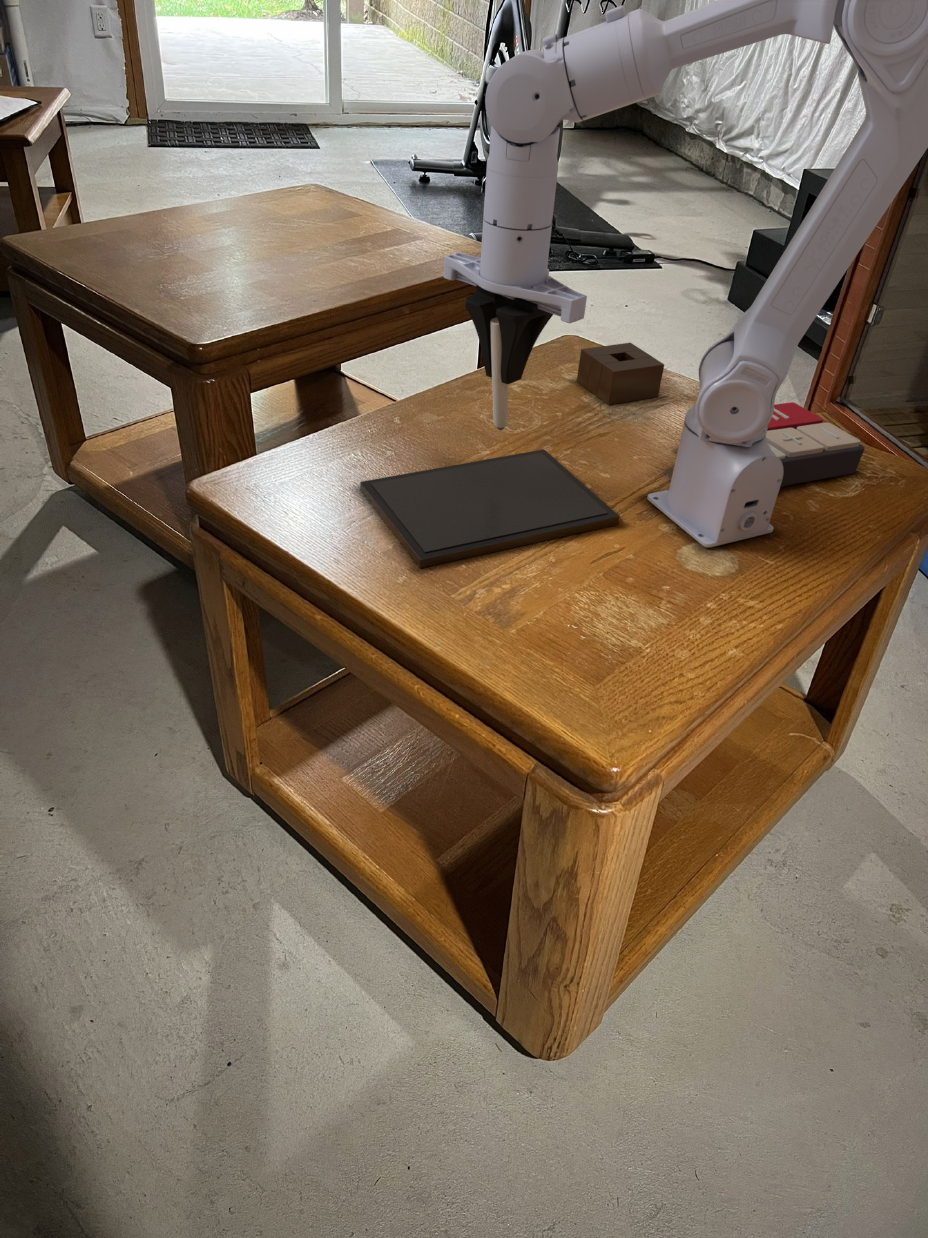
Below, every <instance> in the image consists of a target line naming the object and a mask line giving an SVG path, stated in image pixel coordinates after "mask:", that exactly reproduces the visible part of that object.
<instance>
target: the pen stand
mask: <svg viewBox="0 0 928 1238" xmlns="http://www.w3.org/2000/svg"><path fill="white" fill-rule="evenodd" d="M664 369H665V364H664V363H663V362H662V361H660V360H659V359H657V358H656V357H654V356H653V355H651V354H649V353H648V352H646V351H644V350H643V349H642V348H640V347H638V346H637V345H635V344H634V343H632V342H624V343H616V344H609V345H608V344H607V345H601V346H594V347H593V346H592V347H587V348H581V349H580V356H579V361H578V369H577V376H576V382H577V383H578V384H579V385H581V386H582V387H584V388H585V389H586V390H588V391H589V392H590V393H591V394H593V395H594V396H596V397H597V398H599V399H600V400H601V401H603V402H604V403H605V404H607V405H608V406H609V405H617V404H623V403H628V402H635V401H641V400H647V399H653V398H658V397H659V395H660V389H661V385H662V379H663V374H664Z"/></svg>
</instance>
